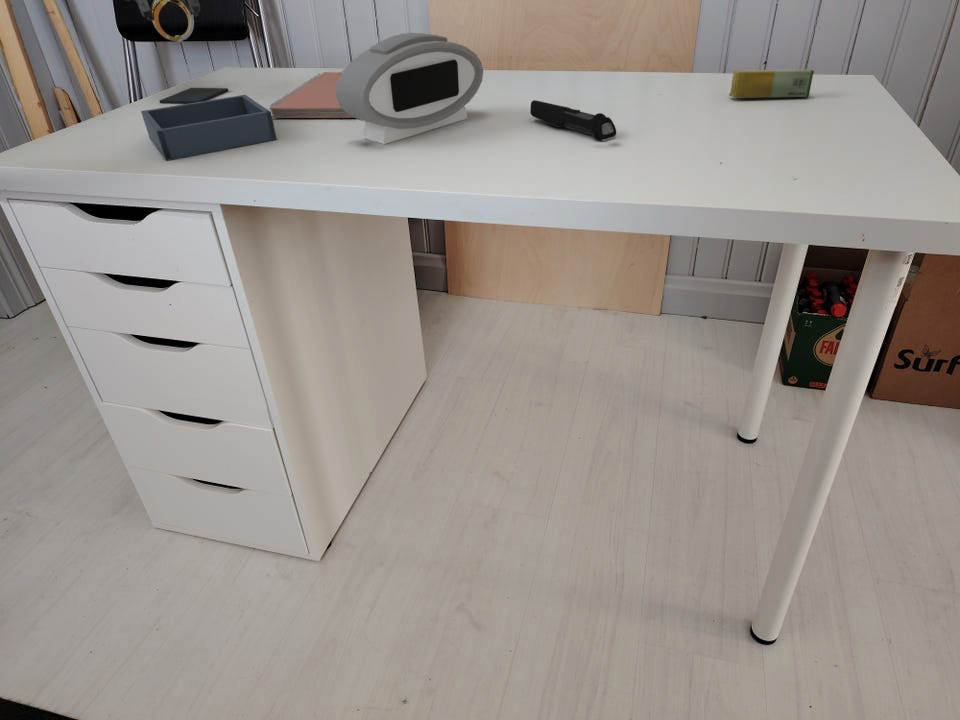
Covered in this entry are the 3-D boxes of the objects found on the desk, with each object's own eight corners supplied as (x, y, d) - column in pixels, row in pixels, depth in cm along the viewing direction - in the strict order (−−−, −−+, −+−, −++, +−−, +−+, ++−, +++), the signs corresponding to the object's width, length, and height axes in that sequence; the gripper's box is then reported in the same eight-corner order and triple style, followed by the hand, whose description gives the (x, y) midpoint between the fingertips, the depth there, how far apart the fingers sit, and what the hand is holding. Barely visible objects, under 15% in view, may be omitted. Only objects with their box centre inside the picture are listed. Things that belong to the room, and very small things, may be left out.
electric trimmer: (542, 118, 101) (542, 96, 99) (618, 137, 90) (619, 113, 88) (524, 122, 99) (524, 101, 97) (599, 142, 88) (600, 118, 87)
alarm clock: (369, 151, 89) (356, 50, 82) (343, 143, 93) (328, 45, 85) (485, 115, 102) (482, 25, 95) (458, 109, 106) (453, 22, 99)
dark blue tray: (166, 160, 89) (156, 131, 87) (149, 138, 98) (140, 111, 96) (276, 139, 95) (270, 111, 93) (251, 120, 105) (245, 94, 103)
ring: (163, 45, 112) (148, -7, 108) (156, 43, 114) (141, -8, 110) (202, 40, 116) (189, -11, 111) (195, 38, 118) (182, -12, 113)
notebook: (320, 81, 127) (318, 70, 126) (404, 80, 125) (403, 69, 124) (265, 119, 105) (262, 106, 104) (365, 119, 103) (364, 106, 102)
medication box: (802, 95, 105) (808, 68, 103) (809, 97, 103) (815, 70, 101) (728, 96, 106) (732, 69, 104) (733, 98, 103) (738, 70, 101)
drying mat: (198, 104, 116) (197, 101, 115) (159, 103, 117) (159, 100, 117) (228, 90, 124) (227, 88, 123) (191, 90, 125) (191, 87, 125)
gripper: (91, -84, 107) (125, 3, 105) (181, -87, 113) (215, -5, 111) (99, -47, 114) (132, 35, 112) (184, -52, 119) (216, 26, 118)
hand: (173, 14), depth 112 cm, fingers closed on ring, 7 cm apart
